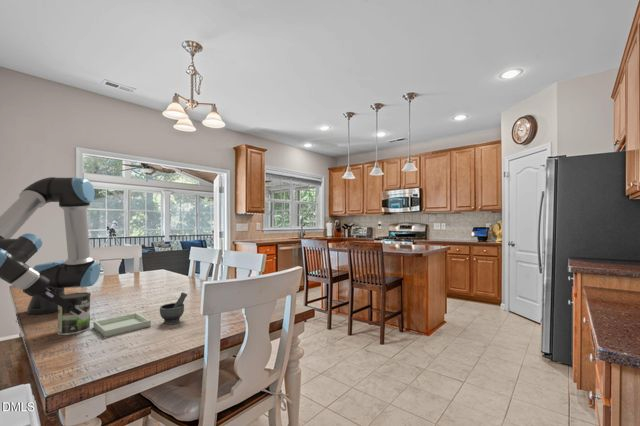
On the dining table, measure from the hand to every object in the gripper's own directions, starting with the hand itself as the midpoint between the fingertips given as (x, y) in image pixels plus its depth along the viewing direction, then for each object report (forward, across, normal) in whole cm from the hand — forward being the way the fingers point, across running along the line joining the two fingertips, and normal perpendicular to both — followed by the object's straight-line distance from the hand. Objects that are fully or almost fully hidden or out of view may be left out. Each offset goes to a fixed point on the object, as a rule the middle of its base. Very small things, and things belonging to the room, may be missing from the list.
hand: (83, 314), depth 125 cm
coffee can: (+2, 0, -6) cm, 6 cm away
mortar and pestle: (+24, +19, +16) cm, 34 cm away
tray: (+12, +10, +4) cm, 16 cm away
